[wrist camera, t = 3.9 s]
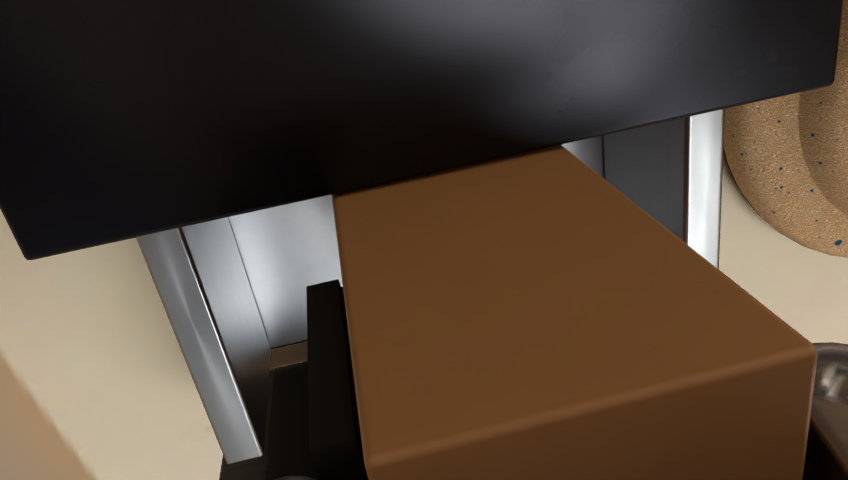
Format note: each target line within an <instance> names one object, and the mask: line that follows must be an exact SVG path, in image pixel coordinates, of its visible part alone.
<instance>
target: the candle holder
mask: <svg viewBox="0 0 848 480" xmlns="http://www.w3.org/2000/svg"><path fill="white" fill-rule="evenodd" d="M723 146H724V150H725V154H726V158H727V162H728V165H729V167H730V170H731V172H732V174H733V176H734V178H735V181H736V183H737V185H738V187H739V189H740V190H741V192H742V193H743V194H744V196H745V197H746V199H747V200H748V201H749V203H750V204H751V205H752V207H753V208H754V210H755V211H756V212H757V213H758V214H759V215H760V216H761V217H762V218H763V219H764V220H765V221H767V222H768V223H769V224H770V225H771V226H772V227H773V228H774V229H775V230H777V231H778V232H779V233H781V234H783V235H784V236H786V237H788V238H790V239H791V240H793V241H795V242H797V243H798V244H800V245H802V246H805V247H807V248H810V249H813V250H816V251H819V252H822V253H825V254H828V255H832V256H840V257H848V0H843V8H842V17H841V26H840V35H839V43H838V52H837V61H836V70H835V79H834V83H833V84H832V85H831V86H827V87H823V88H818V89H814V90H809V91H805V92H800V93H795V94H791V95H786V96H782V97H777V98H772V99H768V100H763V101H759V102H754V103H749V104H745V105H740V106H736V107H731V108H727V109H725V119H724V145H723Z"/></svg>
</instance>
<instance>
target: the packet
mask: <svg viewBox="0 0 848 480" xmlns="http://www.w3.org/2000/svg"><path fill="white" fill-rule="evenodd" d="M332 203H333V211H334V219H335V227H336V236H337V244H338V252H339V260H340V268H341V277H342V285H343V293H344V301H345V309H346V318H347V326H348V334H349V342H350V351H351V359H352V367H353V375H354V383H355V392H356V400H357V408H358V416H359V425H360V433H361V441H362V449H363V457H364V465H365V469H366V472H367V476H368V479H369V480H802V479H803V471H804V463H805V455H806V447H807V439H808V431H809V423H810V415H811V407H812V399H813V391H814V383H815V375H816V367H817V359H818V354H817V350H816V348H815V347H814V345H813V344H812V343H811V342H809V341H808V340H807V339H806V338H804V337H803V336H802V335H801V334H799V333H798V332H797V331H795V330H794V329H793V328H792V327H790V326H789V325H788V324H787V323H785V322H784V321H783V320H782V319H780V318H779V317H778V316H777V315H775V314H774V313H773V312H772V311H770V310H769V309H768V308H766V307H765V306H764V305H763V304H761V303H760V302H759V301H758V300H756V299H755V298H754V297H753V296H751V295H750V294H749V293H748V292H746V291H745V290H744V289H743V288H741V287H740V286H739V285H737V284H736V283H735V282H734V281H732V280H731V279H730V278H729V277H727V276H726V275H725V274H724V273H722V272H721V271H720V270H719V269H717V268H716V267H715V266H714V265H712V264H711V263H710V262H708V261H707V260H706V259H705V258H703V257H702V256H701V255H700V254H698V253H697V252H696V251H695V250H693V249H692V248H691V247H690V246H688V245H687V244H686V243H684V242H683V241H682V240H681V239H679V238H678V237H677V236H676V235H674V234H673V233H672V232H671V231H669V230H668V229H667V228H666V227H664V226H663V225H662V224H661V223H659V222H658V221H657V220H655V219H654V218H653V217H652V216H650V215H649V214H648V213H647V212H645V211H644V210H643V209H642V208H640V207H639V206H638V205H637V204H635V203H634V202H633V201H632V200H630V199H629V198H628V197H626V196H625V195H624V194H623V193H621V192H620V191H619V190H618V189H616V188H615V187H614V186H613V185H611V184H610V183H609V182H608V181H606V180H605V179H604V178H603V177H601V176H600V175H599V174H597V173H596V172H595V171H594V170H592V169H591V168H590V167H589V166H587V165H586V164H585V163H584V162H582V161H581V160H580V159H579V158H577V157H576V156H575V155H574V154H572V153H571V152H570V151H568V150H567V149H566V148H565V147H563V146H562V145H557V146H552V147H548V148H543V149H539V150H534V151H529V152H525V153H520V154H516V155H511V156H506V157H502V158H497V159H493V160H488V161H484V162H479V163H474V164H470V165H465V166H461V167H456V168H451V169H447V170H442V171H438V172H433V173H429V174H424V175H419V176H415V177H410V178H406V179H401V180H396V181H392V182H387V183H383V184H378V185H374V186H369V187H364V188H360V189H355V190H351V191H346V192H341V193H337V194H332Z"/></svg>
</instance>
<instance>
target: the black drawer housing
mask: <svg viewBox="0 0 848 480" xmlns="http://www.w3.org/2000/svg"><path fill="white" fill-rule="evenodd" d="M842 8H843V0H0V209H1V211H2V213H3V215H4V217H5V219H6V221H7V223H8V225H9V227H10V229H11V231H12V233H13V235H14V237H15V239H16V241H17V243H18V245H19V247H20V249H21V251H22V253H23V255H24V257H25V258H26V259H27V260H34V259H39V258H43V257H48V256H53V255H57V254H62V253H66V252H71V251H76V250H80V249H85V248H89V247H94V246H98V245H103V244H108V243H112V242H117V241H121V240H126V239H131V238H135V237H140V236H144V235H149V234H153V233H158V232H163V231H167V230H172V229H176V228H181V227H186V226H190V225H195V224H199V223H204V222H208V221H213V220H218V219H222V218H227V217H231V216H236V215H241V214H245V213H250V212H254V211H259V210H263V209H268V208H273V207H277V206H282V205H286V204H291V203H296V202H300V201H305V200H309V199H314V198H319V197H323V196H328V195H332V194H337V193H341V192H346V191H351V190H355V189H360V188H364V187H369V186H374V185H378V184H383V183H387V182H392V181H396V180H401V179H406V178H410V177H415V176H419V175H424V174H429V173H433V172H438V171H442V170H447V169H451V168H456V167H461V166H465V165H470V164H474V163H479V162H484V161H488V160H493V159H497V158H502V157H506V156H511V155H516V154H520V153H525V152H529V151H534V150H539V149H543V148H548V147H552V146H557V145H562V144H566V143H571V142H575V141H580V140H584V139H589V138H594V137H598V136H603V135H607V134H612V133H617V132H621V131H626V130H630V129H635V128H639V127H644V126H649V125H653V124H658V123H662V122H667V121H672V120H676V119H681V118H685V117H690V116H694V115H699V114H704V113H708V112H713V111H717V110H722V109H727V108H731V107H736V106H740V105H745V104H749V103H754V102H759V101H763V100H768V99H772V98H777V97H782V96H786V95H791V94H795V93H800V92H805V91H809V90H814V89H818V88H823V87H827V86H831V85H832V84H833V83H834V79H835V70H836V61H837V52H838V43H839V35H840V26H841V17H842Z"/></svg>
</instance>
